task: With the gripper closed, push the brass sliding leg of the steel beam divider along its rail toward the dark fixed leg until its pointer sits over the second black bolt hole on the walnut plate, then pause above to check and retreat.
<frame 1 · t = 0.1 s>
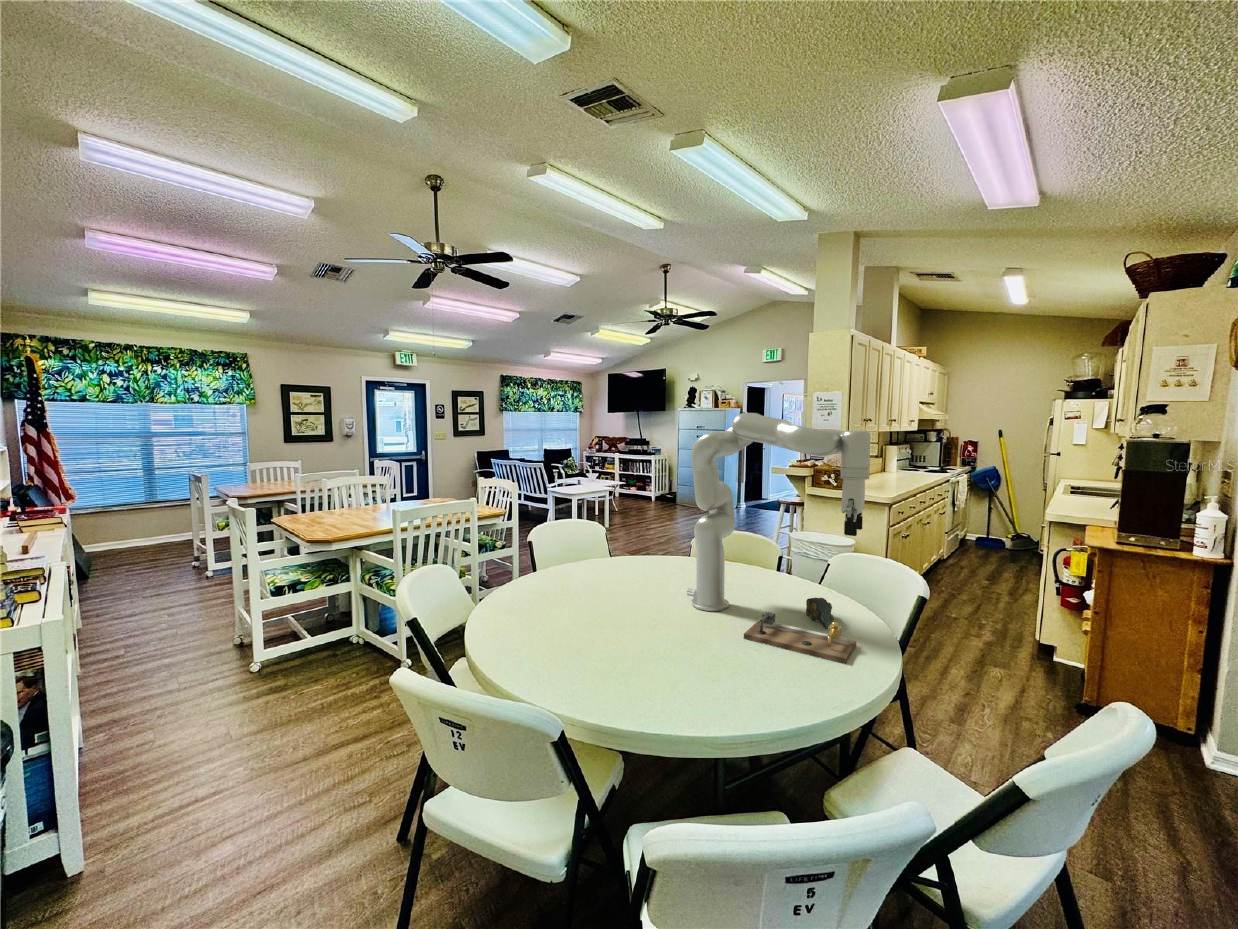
hand: (853, 532, 149), 31 cm above the table, tool pointing down, fingers open, 9 cm apart
sculpture: (819, 622, 163), on the table
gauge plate: (798, 642, 148), on the table
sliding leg: (832, 633, 143), point 4 cm above the table, slide at 6.0 cm
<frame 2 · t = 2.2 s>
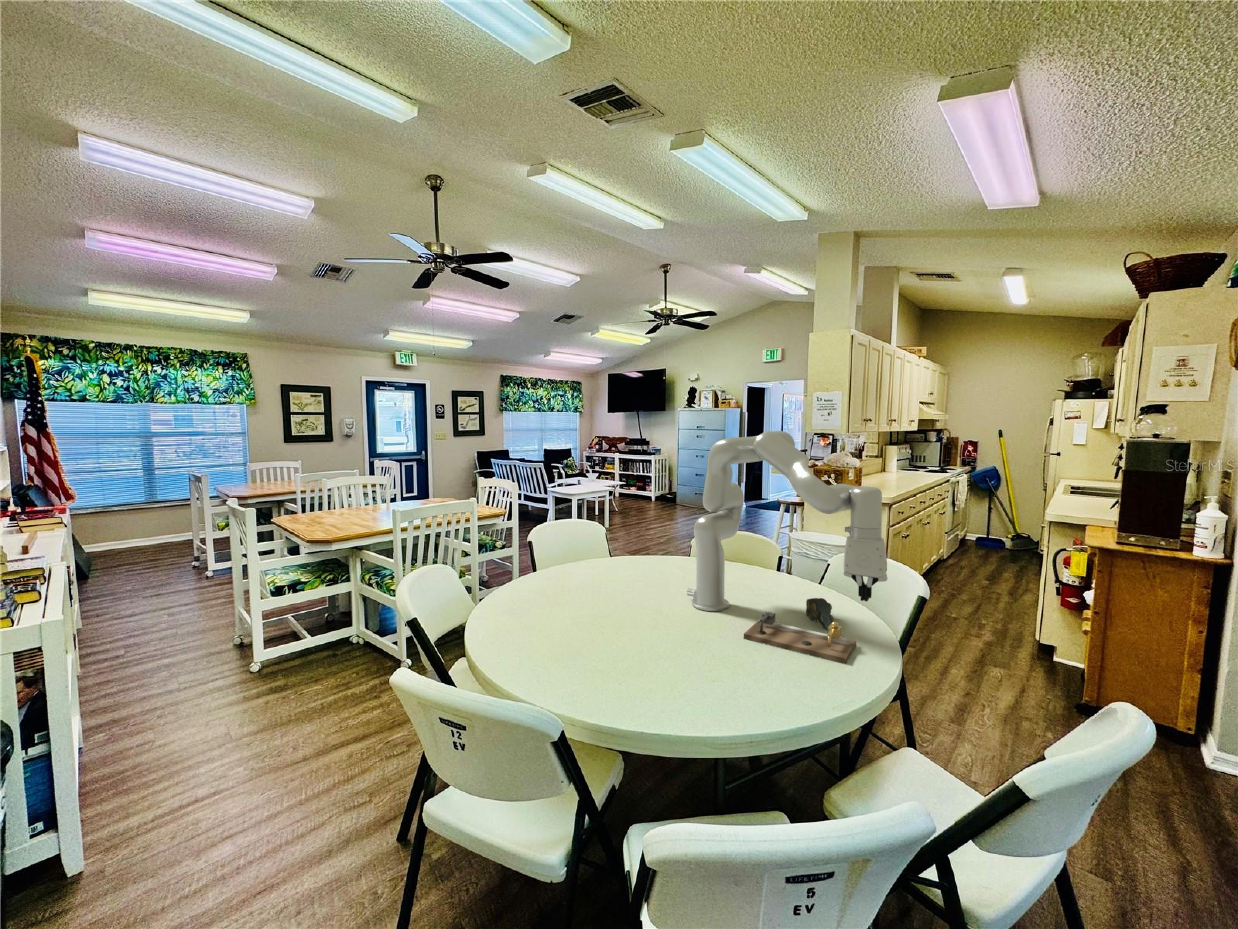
hand: (864, 599, 139), 15 cm above the table, tool pointing down, fingers closed
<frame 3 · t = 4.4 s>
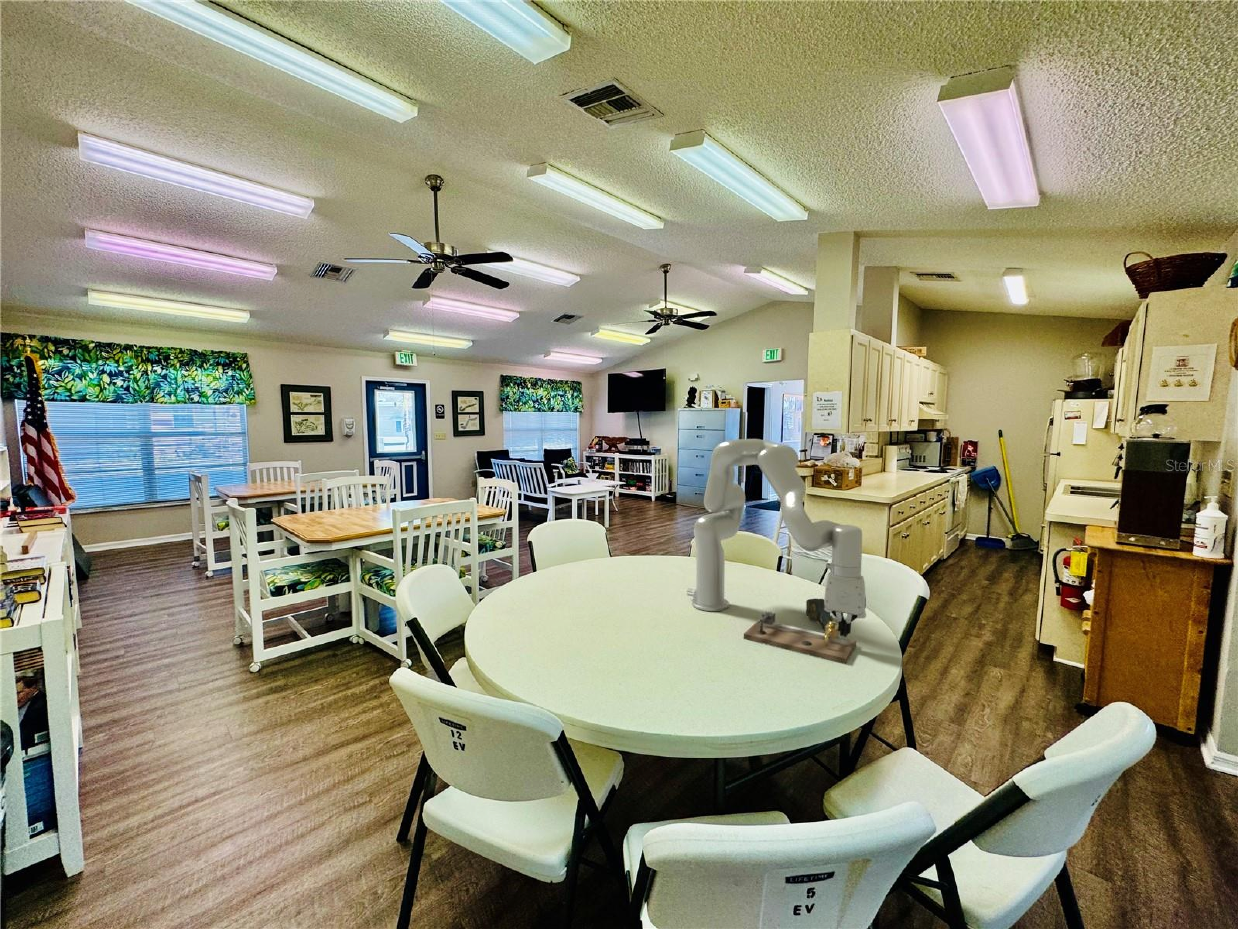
hand: (844, 634, 143), 4 cm above the table, tool pointing down, fingers closed
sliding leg: (829, 633, 143), point 4 cm above the table, slide at 5.2 cm, touching gripper
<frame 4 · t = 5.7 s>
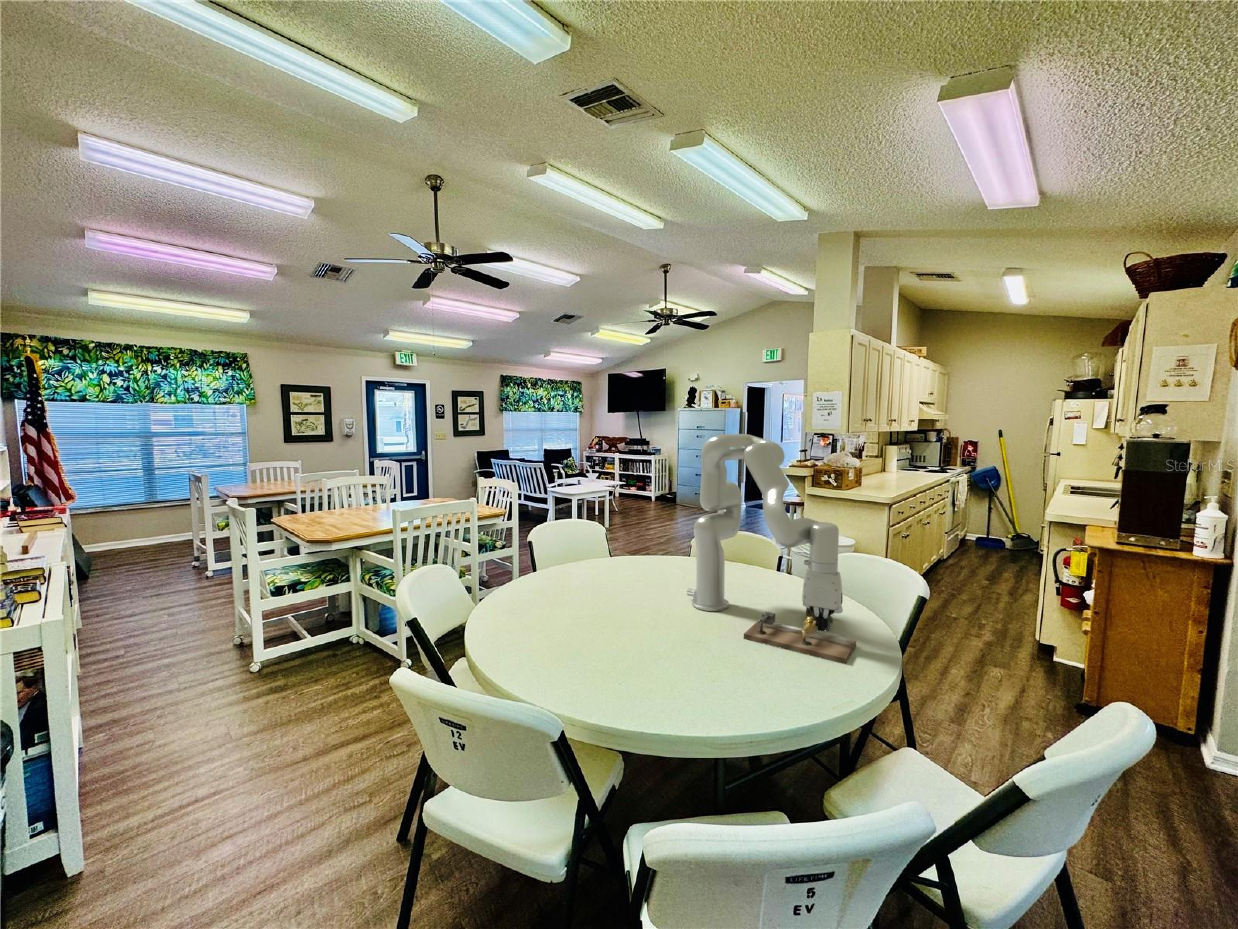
hand: (821, 629, 147), 4 cm above the table, tool pointing down, fingers closed
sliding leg: (807, 628, 147), point 4 cm above the table, slide at -0.8 cm, touching gripper
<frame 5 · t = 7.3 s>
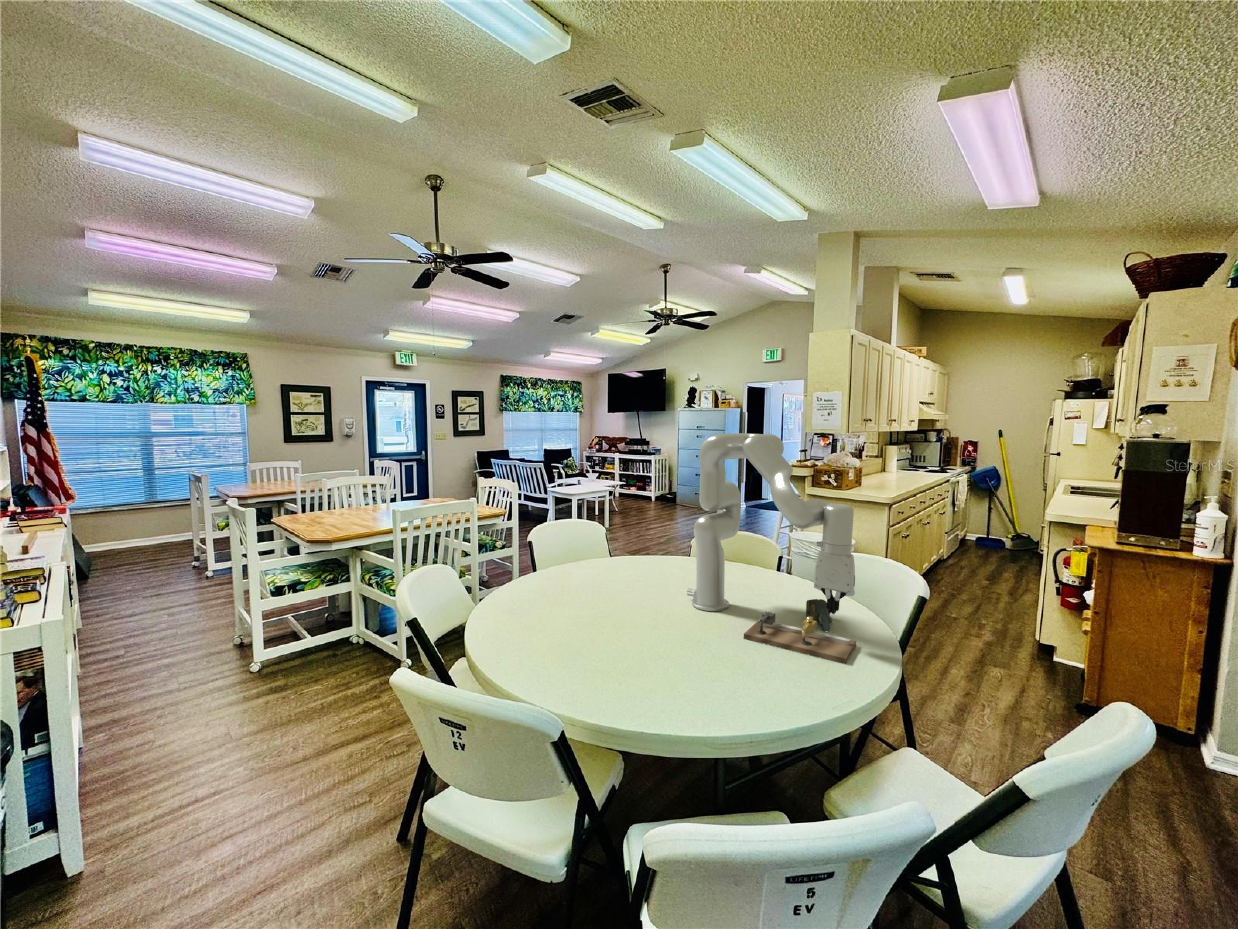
hand: (832, 612, 145), 10 cm above the table, tool pointing down, fingers closed
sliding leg: (807, 628, 147), point 4 cm above the table, slide at -0.9 cm
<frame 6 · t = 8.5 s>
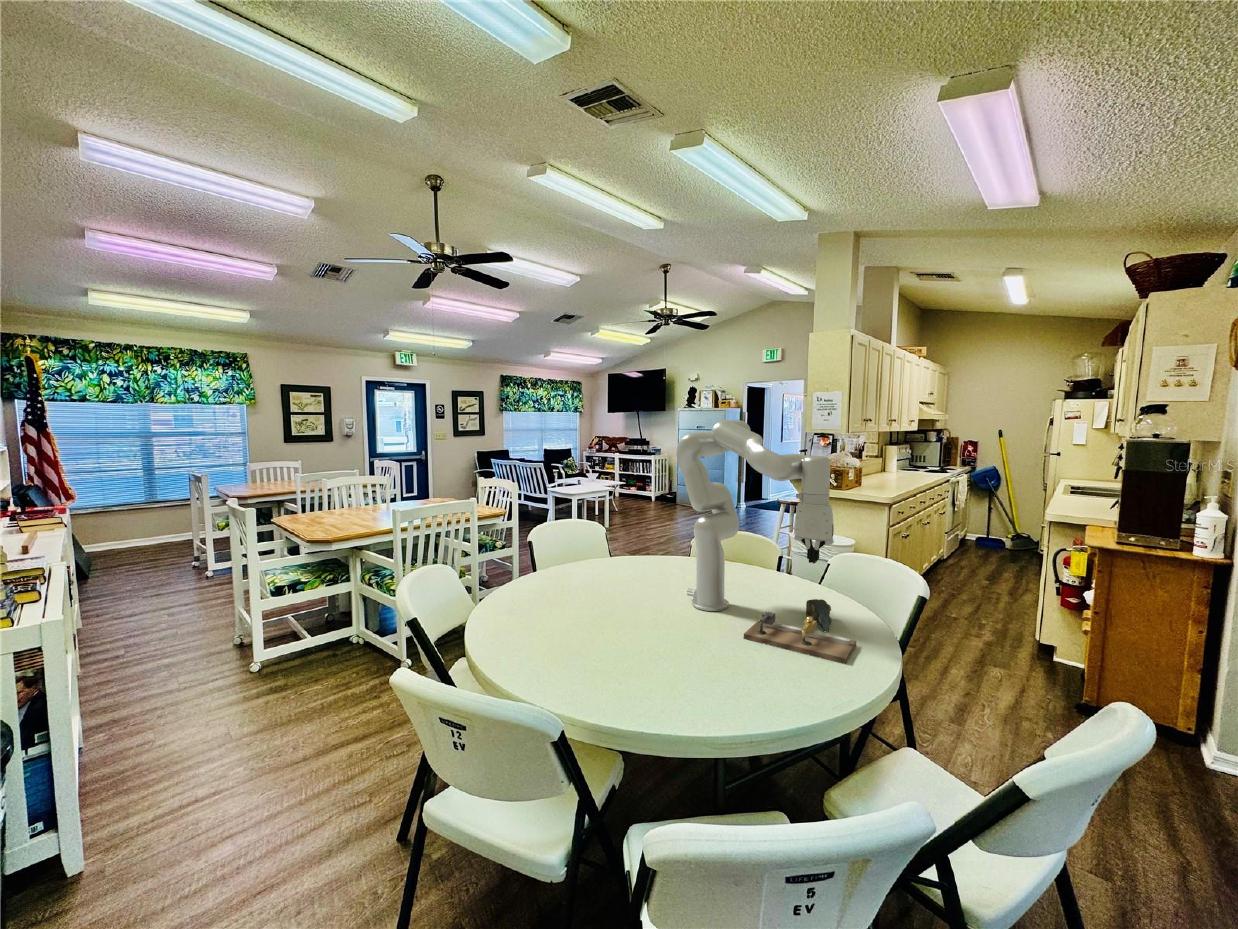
hand: (812, 561, 149), 23 cm above the table, tool pointing down, fingers closed
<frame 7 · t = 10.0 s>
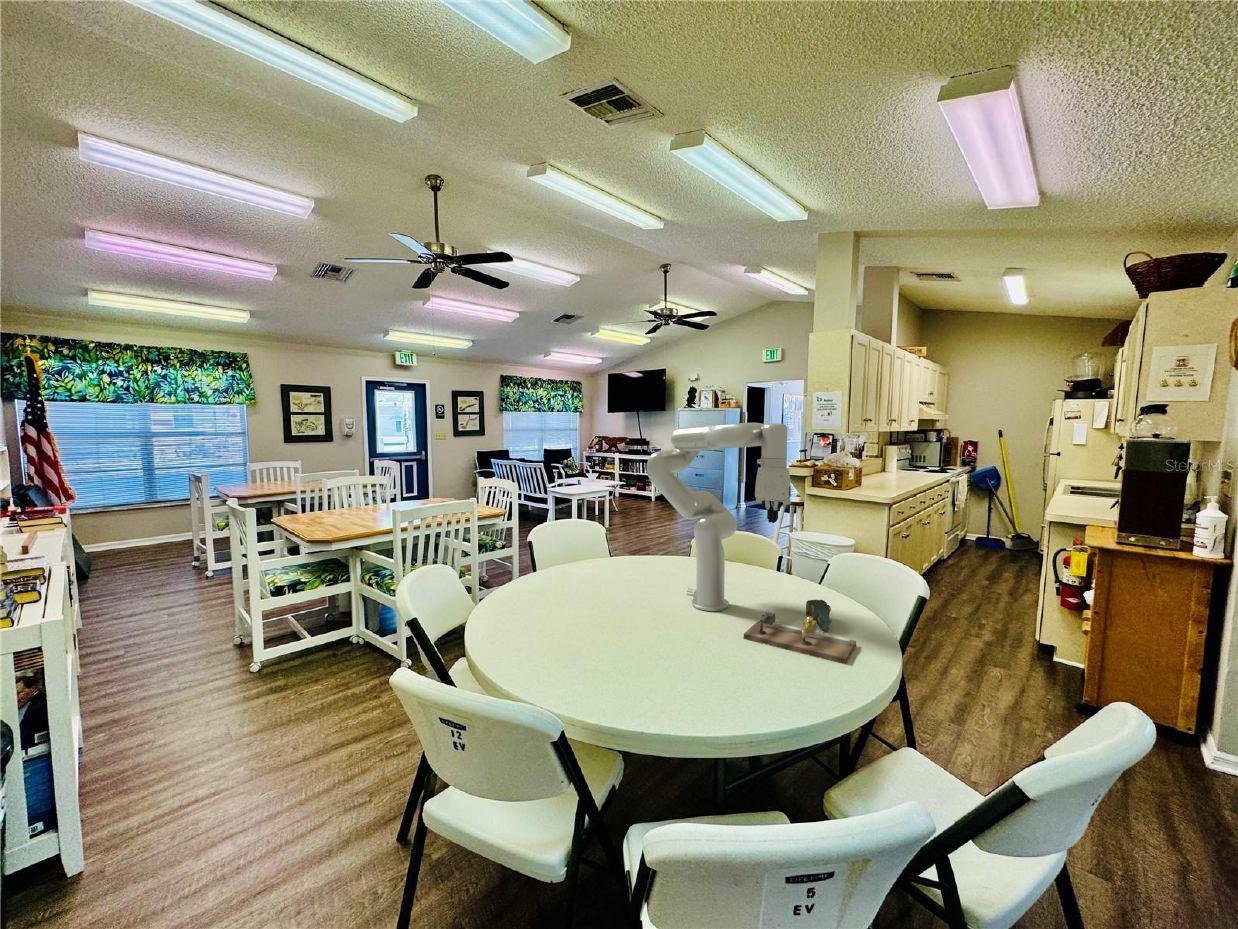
hand: (772, 521, 161), 32 cm above the table, tool pointing down, fingers closed
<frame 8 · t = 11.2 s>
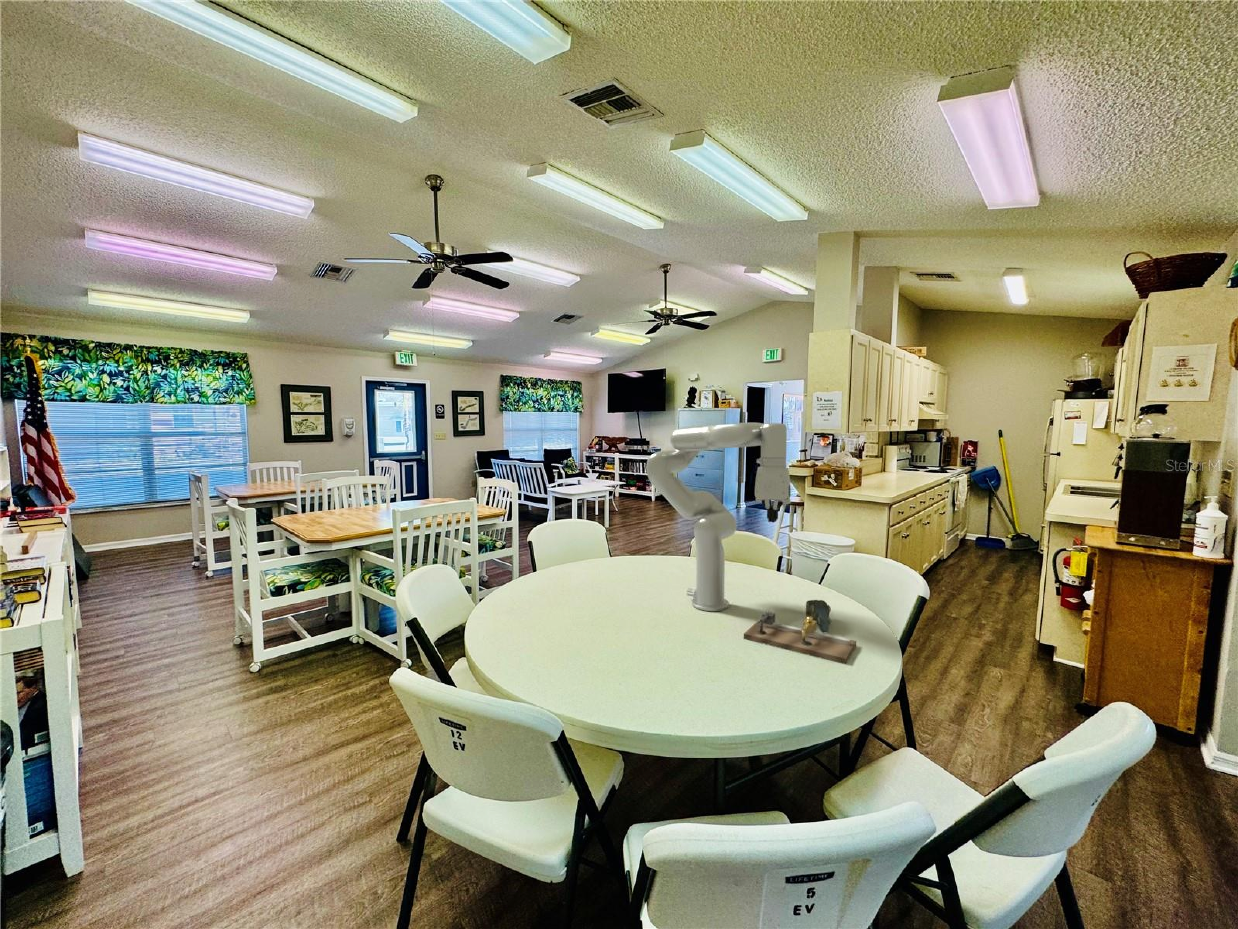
hand: (772, 521, 161), 32 cm above the table, tool pointing down, fingers closed
at the end: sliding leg slide at -0.9 cm; sculpture moved 2.4 cm from its start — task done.
